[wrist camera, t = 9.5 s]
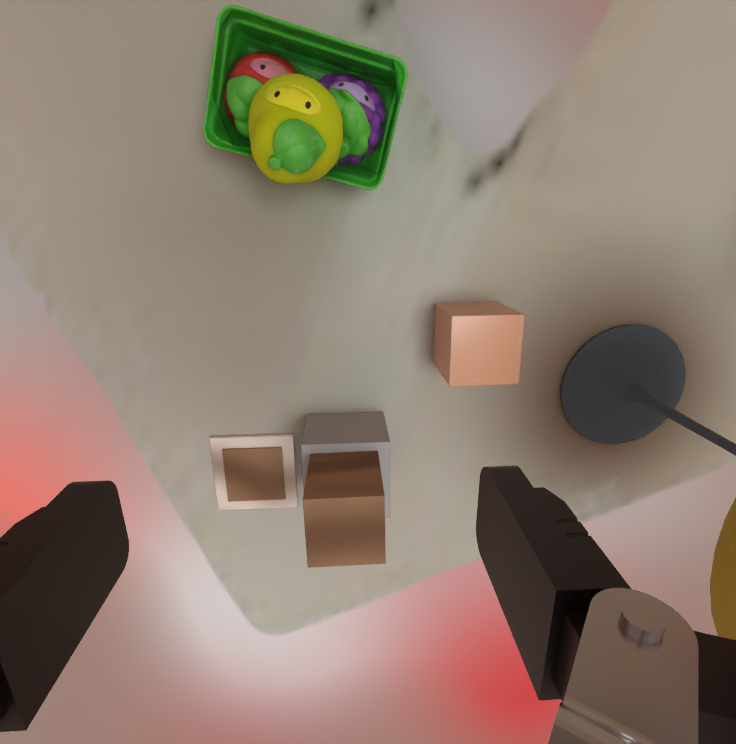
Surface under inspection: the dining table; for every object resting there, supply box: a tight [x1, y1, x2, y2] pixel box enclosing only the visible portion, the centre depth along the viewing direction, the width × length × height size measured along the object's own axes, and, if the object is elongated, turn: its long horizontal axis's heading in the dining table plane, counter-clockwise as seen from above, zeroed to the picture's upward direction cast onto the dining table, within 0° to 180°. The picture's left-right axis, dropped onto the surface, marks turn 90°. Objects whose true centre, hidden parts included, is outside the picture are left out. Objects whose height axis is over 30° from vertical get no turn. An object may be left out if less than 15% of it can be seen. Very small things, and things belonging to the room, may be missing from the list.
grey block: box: [301, 412, 390, 518], centre depth 37 cm, size 6×6×6 cm
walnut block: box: [303, 451, 386, 567], centre depth 32 cm, size 5×5×6 cm
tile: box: [210, 434, 298, 510], centre depth 40 cm, size 7×7×1 cm
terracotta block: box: [434, 302, 525, 386], centre depth 35 cm, size 5×5×6 cm
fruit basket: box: [203, 5, 408, 190], centre depth 27 cm, size 11×9×11 cm
